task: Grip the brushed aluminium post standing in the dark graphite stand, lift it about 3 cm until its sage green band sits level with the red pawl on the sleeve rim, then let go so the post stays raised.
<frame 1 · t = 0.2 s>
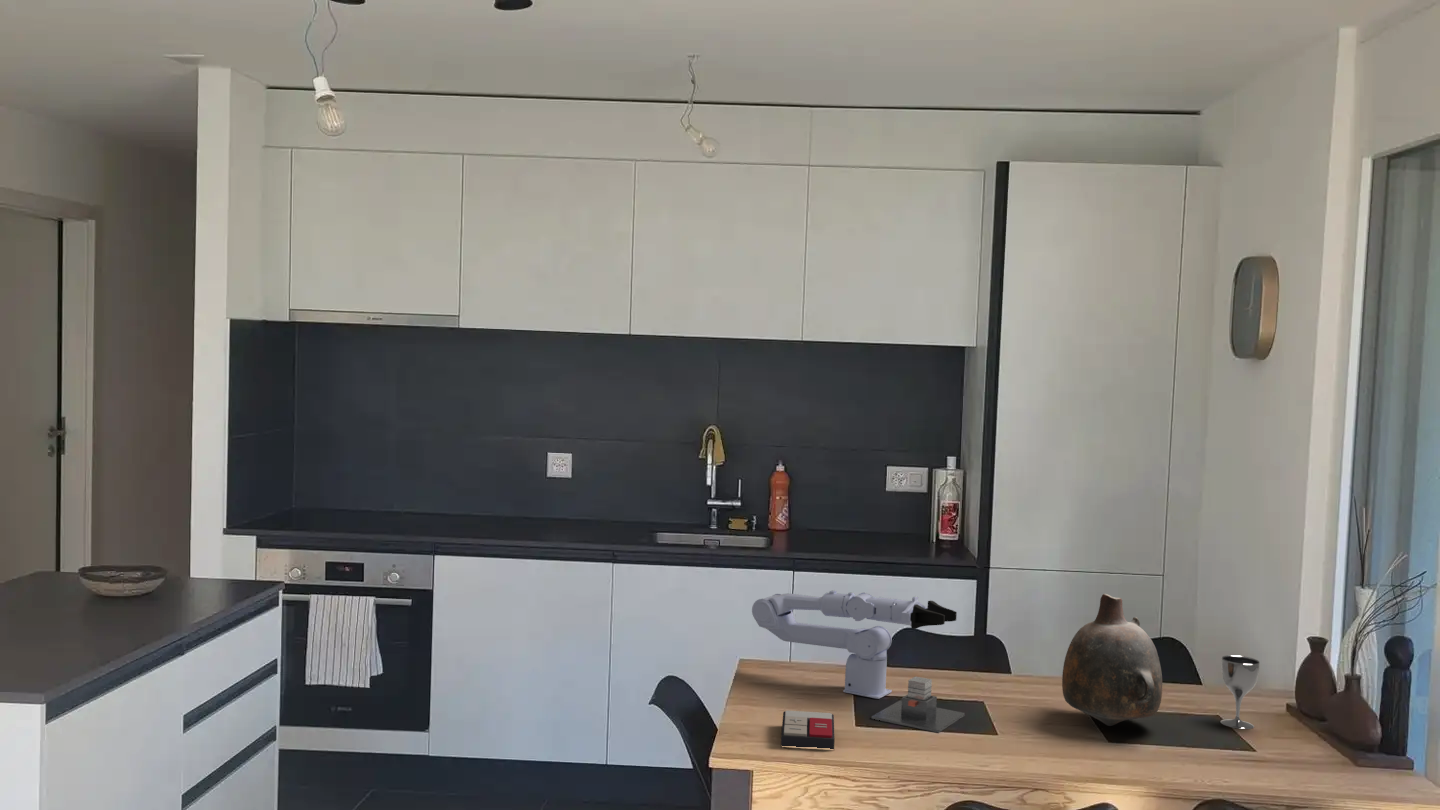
hand: (950, 618, 281), 21 cm above the table, tool horizontal, fingers open, 7 cm apart
silver goblet: (1237, 725, 277), on the table
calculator: (807, 740, 256), on the table
column: (919, 697, 273), point 5 cm above the table, slide at 0.0 cm, touching stand
stand: (918, 717, 273), on the table
jug: (1108, 726, 273), on the table
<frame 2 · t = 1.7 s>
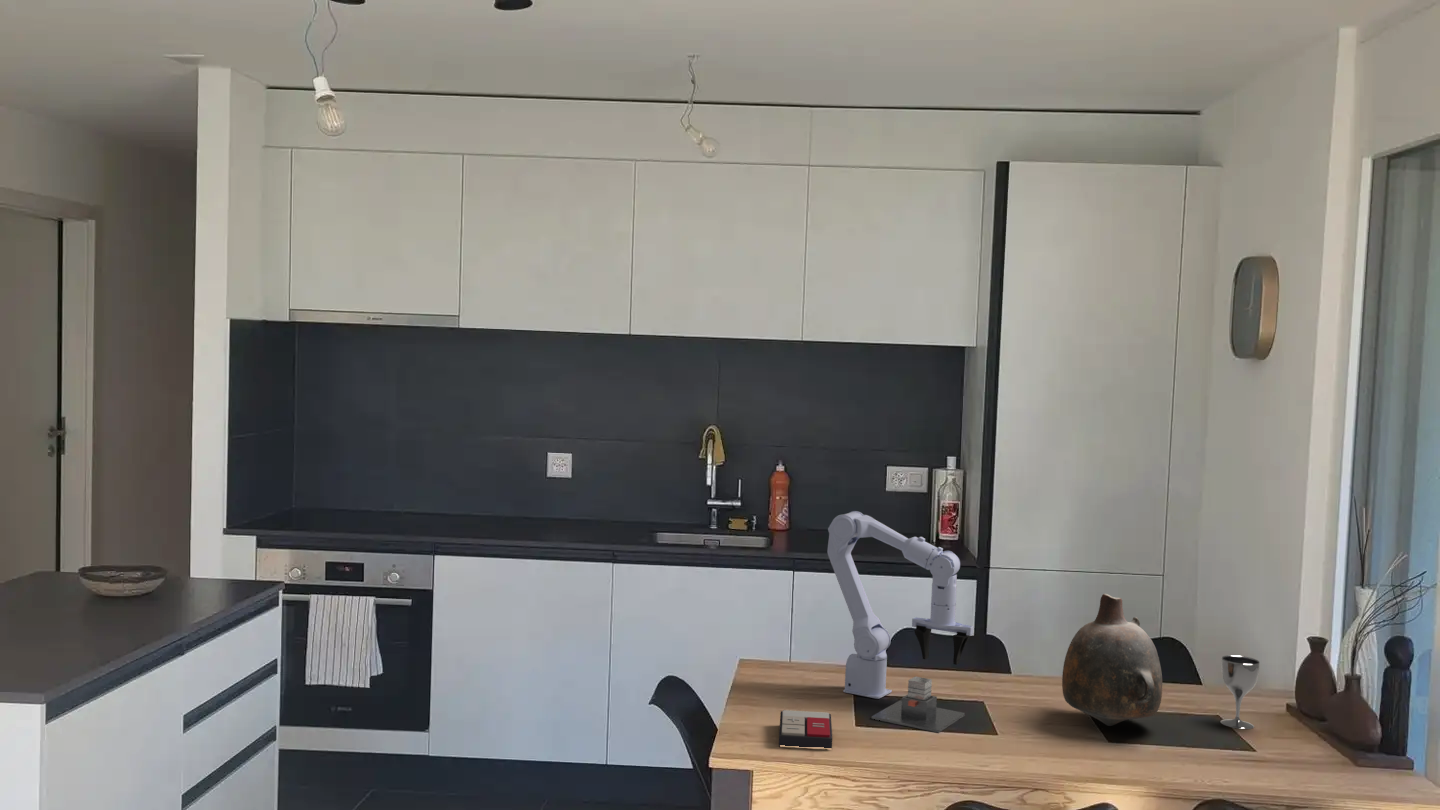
hand: (940, 661, 283), 10 cm above the table, tool pointing down, fingers open, 7 cm apart
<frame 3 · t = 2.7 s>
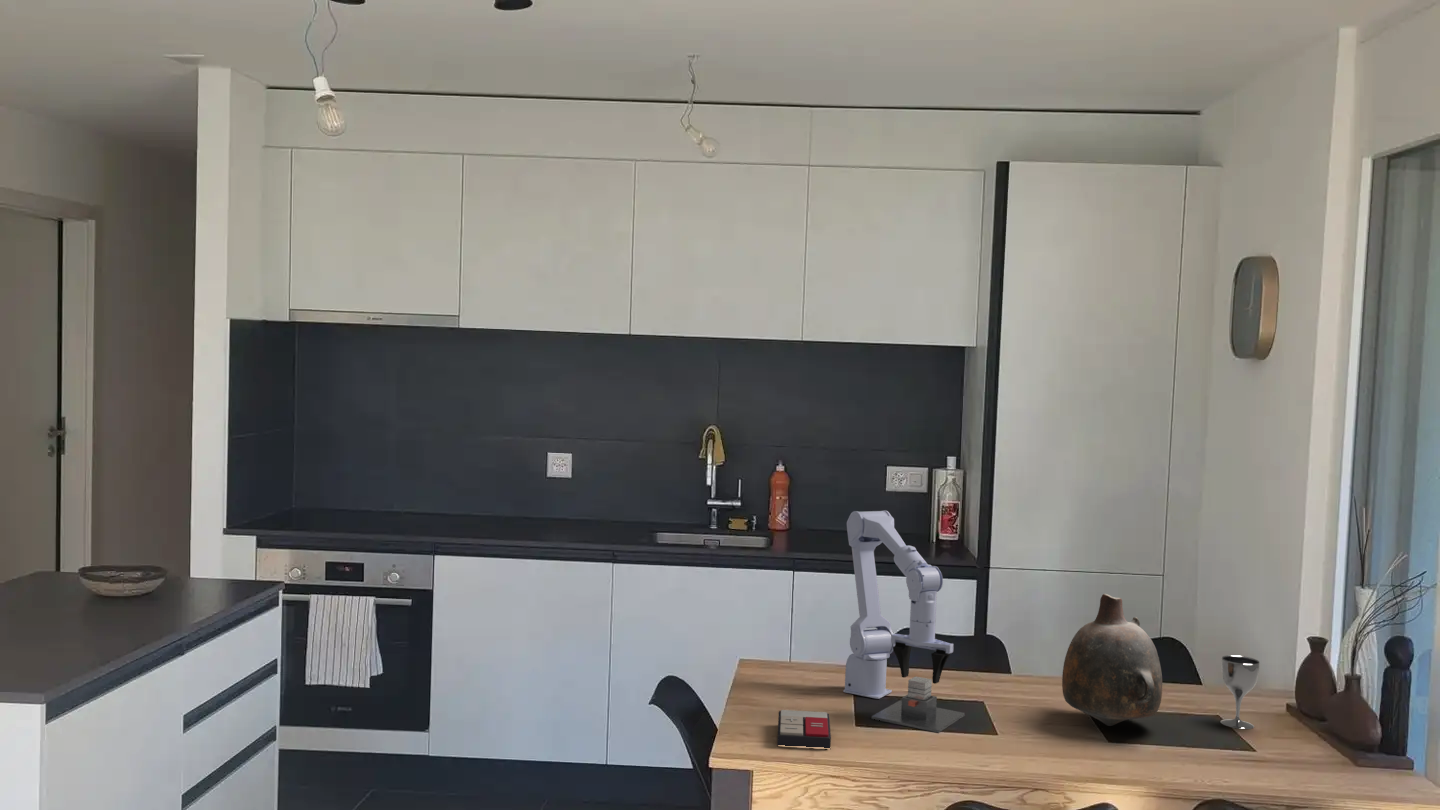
hand: (920, 679, 273), 9 cm above the table, tool pointing down, fingers open, 7 cm apart
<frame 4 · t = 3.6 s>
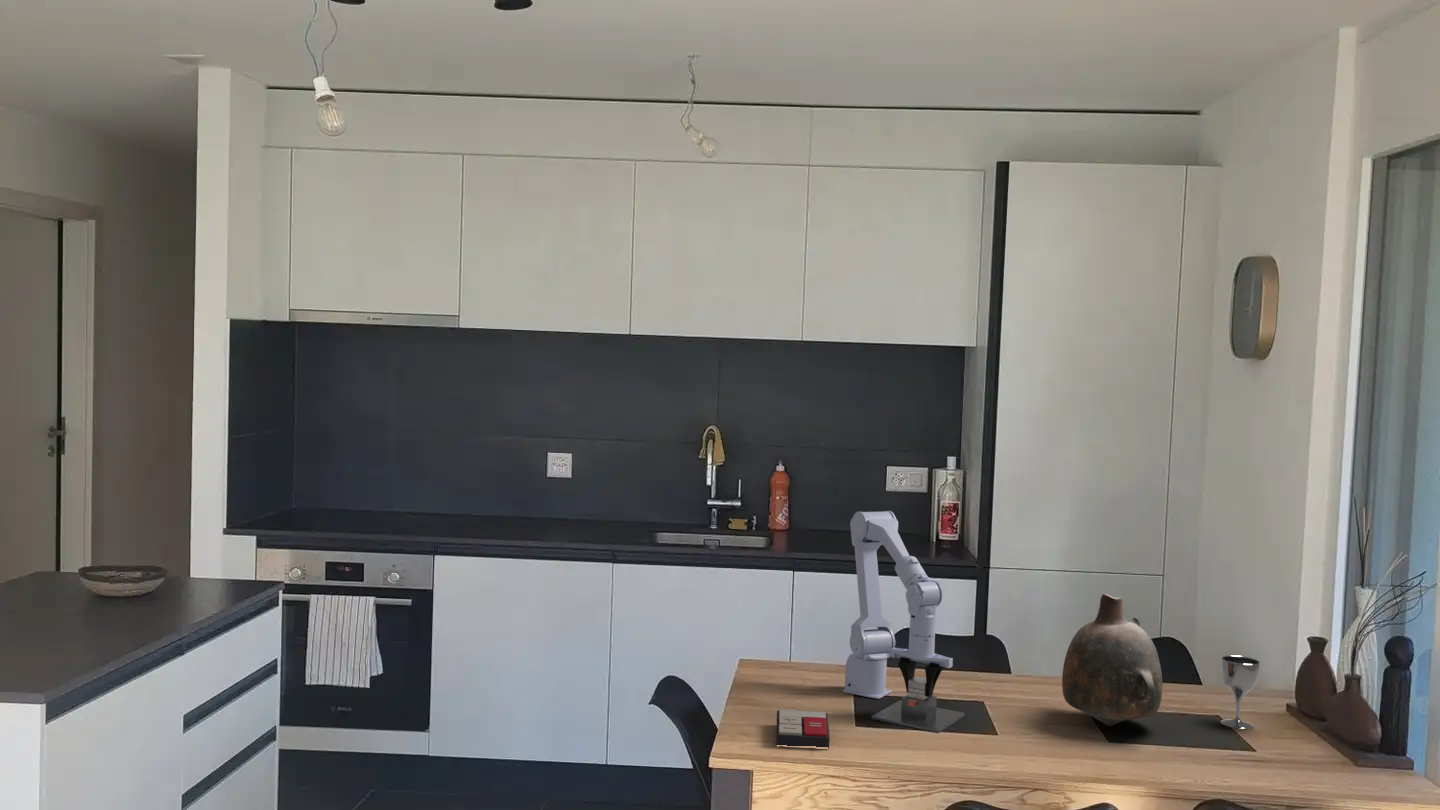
hand: (919, 693, 273), 5 cm above the table, tool pointing down, fingers closed on column, 4 cm apart
column: (919, 697, 273), point 5 cm above the table, slide at 0.0 cm, touching gripper, stand
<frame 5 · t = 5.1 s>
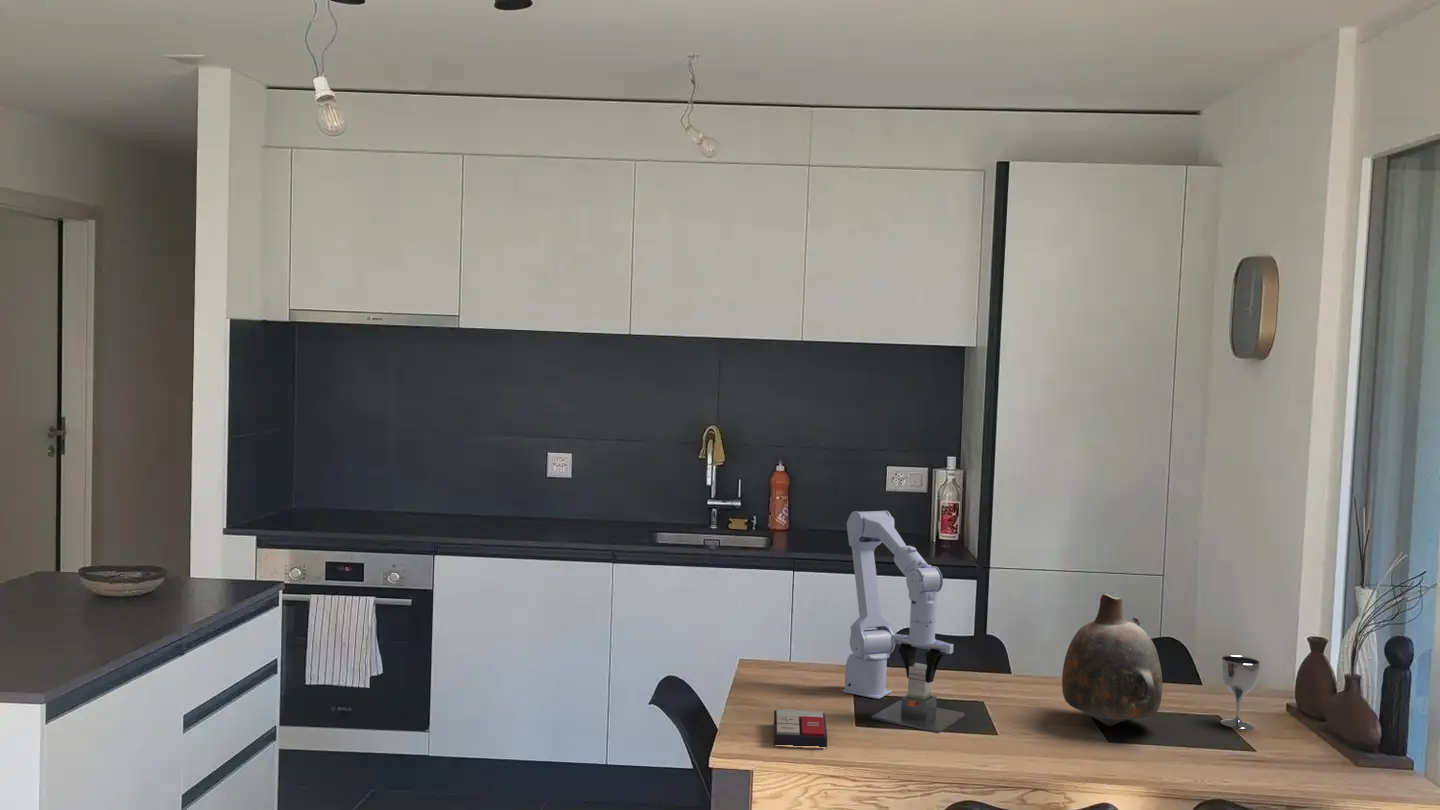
hand: (920, 679, 273), 9 cm above the table, tool pointing down, fingers closed on column, 4 cm apart
column: (920, 683, 273), point 8 cm above the table, slide at 3.1 cm, touching gripper
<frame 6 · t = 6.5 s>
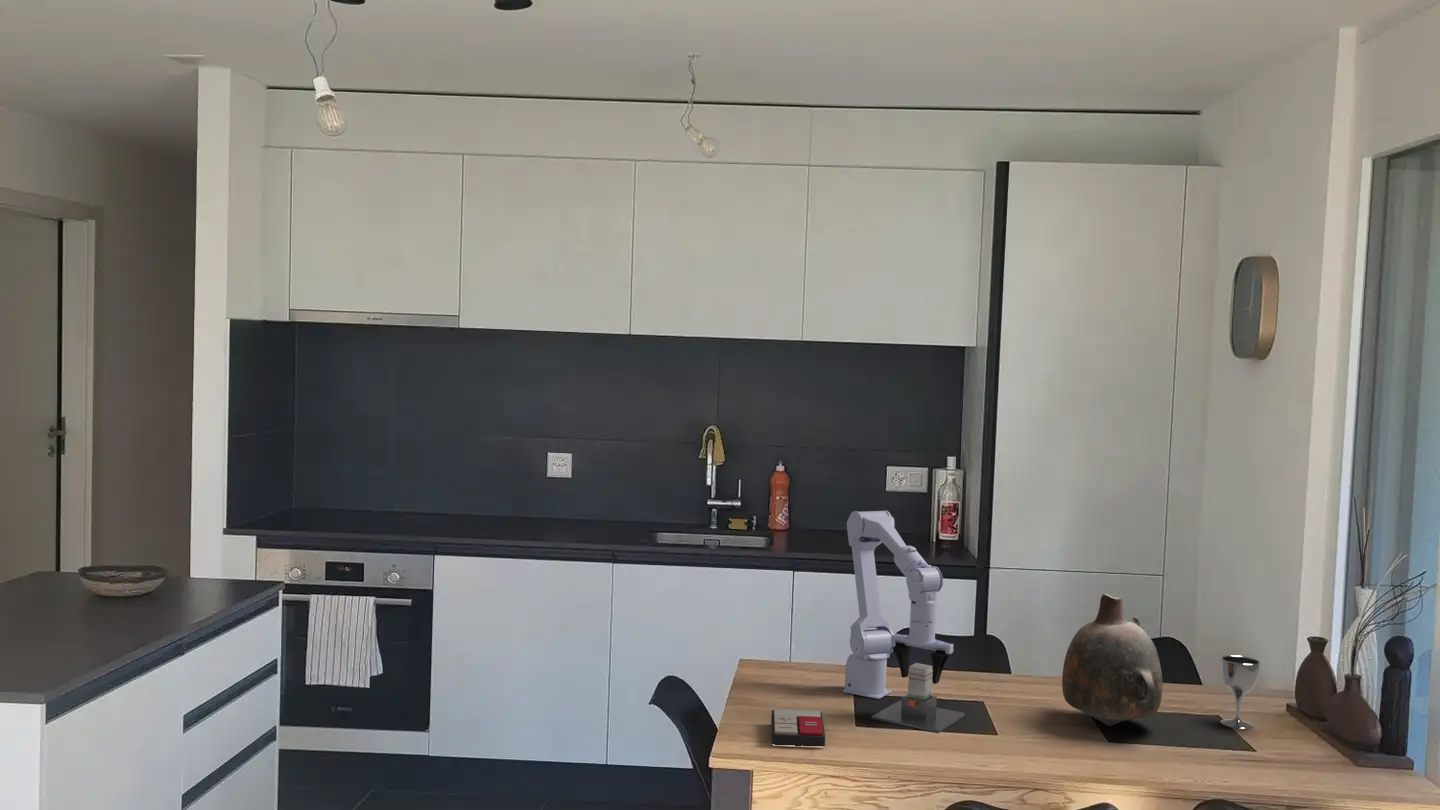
hand: (920, 679, 273), 9 cm above the table, tool pointing down, fingers open, 7 cm apart
column: (920, 683, 273), point 8 cm above the table, slide at 3.1 cm
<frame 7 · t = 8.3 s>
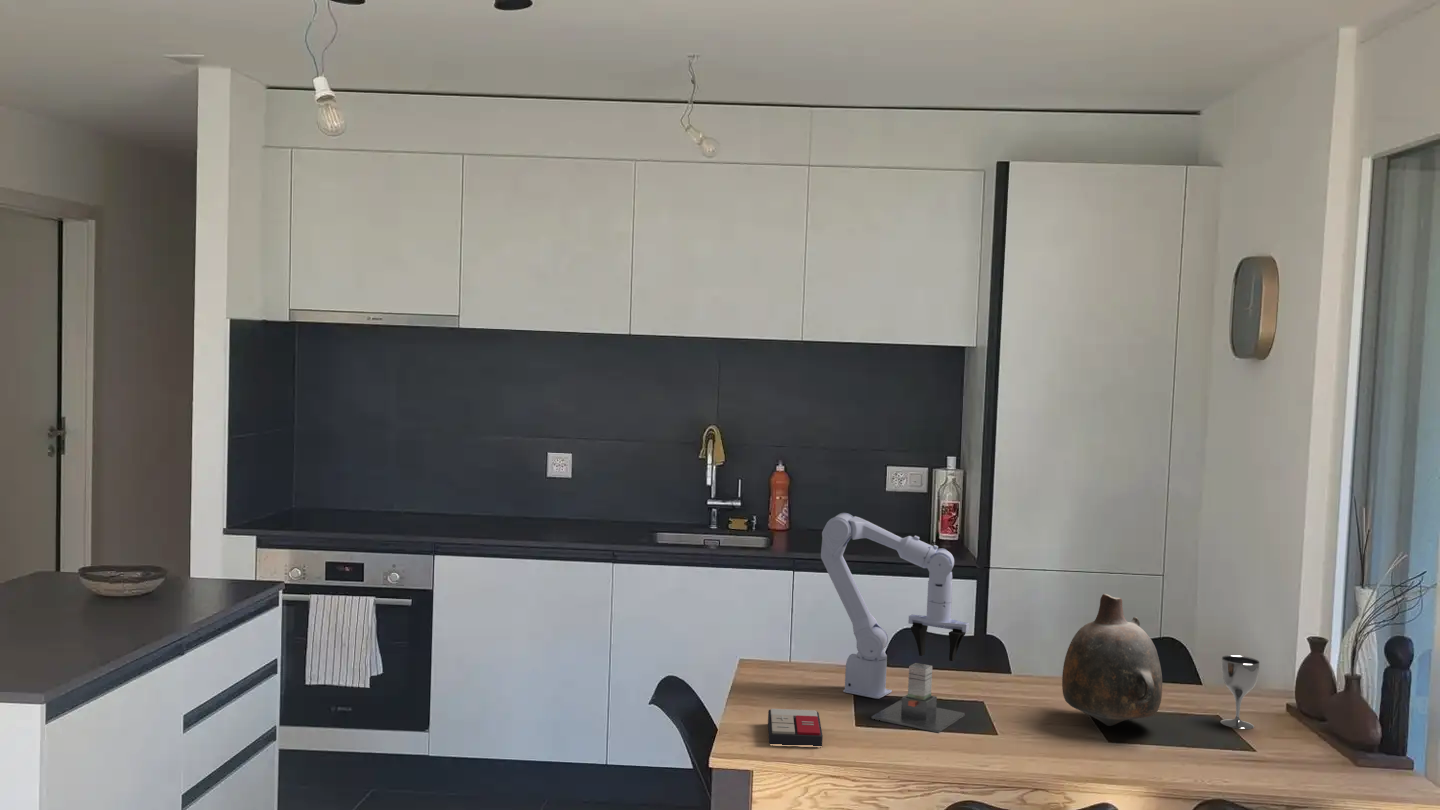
hand: (937, 657, 287), 10 cm above the table, tool pointing down, fingers open, 7 cm apart
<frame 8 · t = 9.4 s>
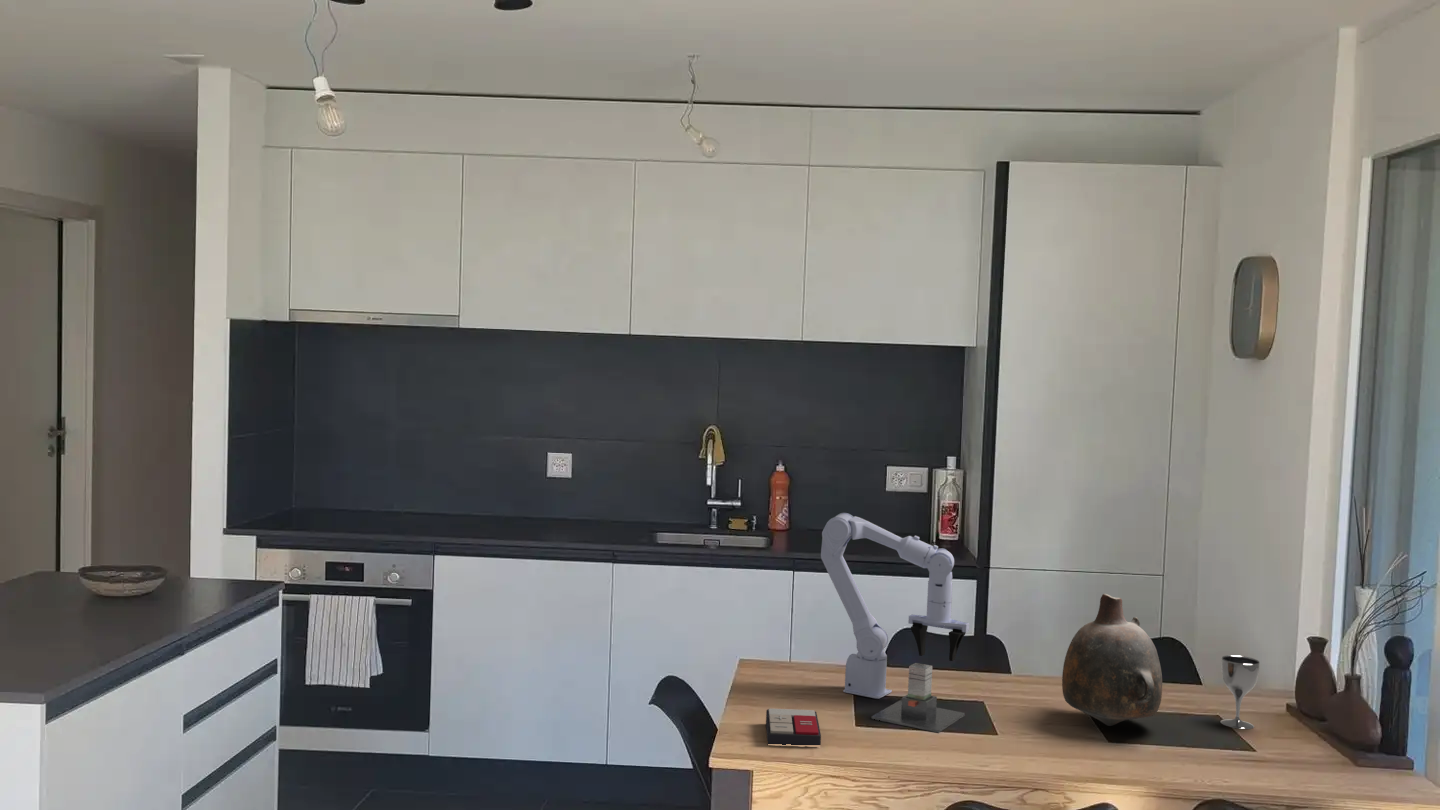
hand: (937, 657, 287), 10 cm above the table, tool pointing down, fingers open, 7 cm apart
at the end: column slide at 3.1 cm; the gripper is holding nothing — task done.
